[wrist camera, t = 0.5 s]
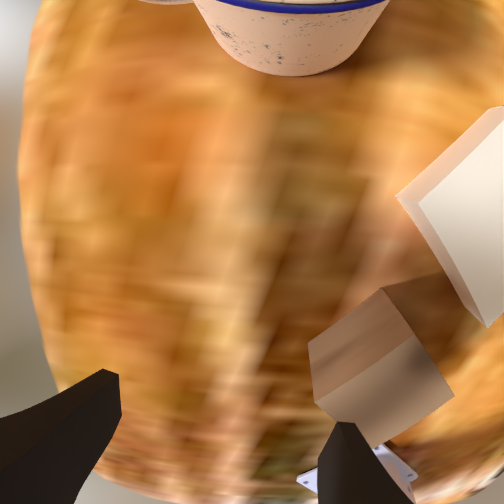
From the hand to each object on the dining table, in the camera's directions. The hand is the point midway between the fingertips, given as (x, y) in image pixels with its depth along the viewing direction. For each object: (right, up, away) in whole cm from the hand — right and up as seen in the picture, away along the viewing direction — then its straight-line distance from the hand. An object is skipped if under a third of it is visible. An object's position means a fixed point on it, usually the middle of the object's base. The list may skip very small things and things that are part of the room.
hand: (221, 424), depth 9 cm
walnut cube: (+8, 0, +9) cm, 12 cm away
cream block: (+15, +8, +7) cm, 18 cm away
